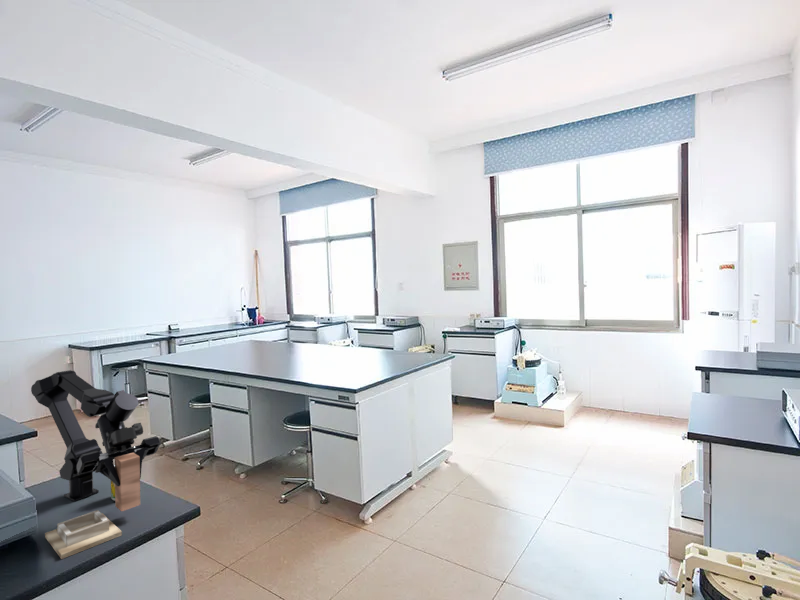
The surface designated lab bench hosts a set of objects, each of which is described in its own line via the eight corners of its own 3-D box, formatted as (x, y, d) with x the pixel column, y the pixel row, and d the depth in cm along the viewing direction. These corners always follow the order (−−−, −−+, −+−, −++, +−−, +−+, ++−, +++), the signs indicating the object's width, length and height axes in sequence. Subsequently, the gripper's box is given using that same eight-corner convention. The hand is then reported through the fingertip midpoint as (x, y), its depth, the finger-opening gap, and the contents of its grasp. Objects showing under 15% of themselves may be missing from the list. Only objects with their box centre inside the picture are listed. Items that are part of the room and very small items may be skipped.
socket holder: (45, 537, 105) (44, 522, 105) (102, 516, 114) (102, 503, 114) (61, 559, 96) (61, 543, 96) (121, 535, 105) (121, 521, 105)
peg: (115, 506, 113) (114, 457, 113) (133, 499, 116) (133, 452, 116) (121, 511, 110) (120, 461, 110) (140, 504, 114) (139, 456, 113)
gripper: (79, 423, 108) (94, 479, 101) (157, 407, 123) (175, 455, 116) (70, 447, 113) (84, 501, 106) (147, 429, 128) (163, 476, 121)
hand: (129, 482), depth 112 cm, fingers closed on peg, 4 cm apart
